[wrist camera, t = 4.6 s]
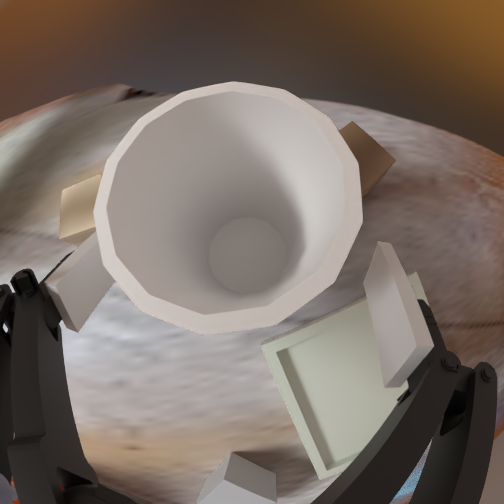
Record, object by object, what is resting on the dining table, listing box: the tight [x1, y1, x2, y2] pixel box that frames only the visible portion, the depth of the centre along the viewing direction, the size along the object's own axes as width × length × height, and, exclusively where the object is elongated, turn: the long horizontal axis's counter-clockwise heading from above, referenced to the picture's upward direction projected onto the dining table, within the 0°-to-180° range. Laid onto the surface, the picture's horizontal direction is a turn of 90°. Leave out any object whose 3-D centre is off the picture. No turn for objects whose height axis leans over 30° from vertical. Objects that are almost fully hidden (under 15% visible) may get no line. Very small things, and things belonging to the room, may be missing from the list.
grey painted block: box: [196, 452, 277, 504], centre depth 15 cm, size 4×4×4 cm
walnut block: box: [339, 121, 396, 198], centre depth 20 cm, size 4×4×4 cm
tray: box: [261, 271, 430, 480], centre depth 18 cm, size 13×13×2 cm
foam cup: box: [93, 82, 363, 335], centre depth 15 cm, size 10×9×13 cm
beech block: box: [60, 173, 103, 247], centre depth 21 cm, size 4×4×4 cm
